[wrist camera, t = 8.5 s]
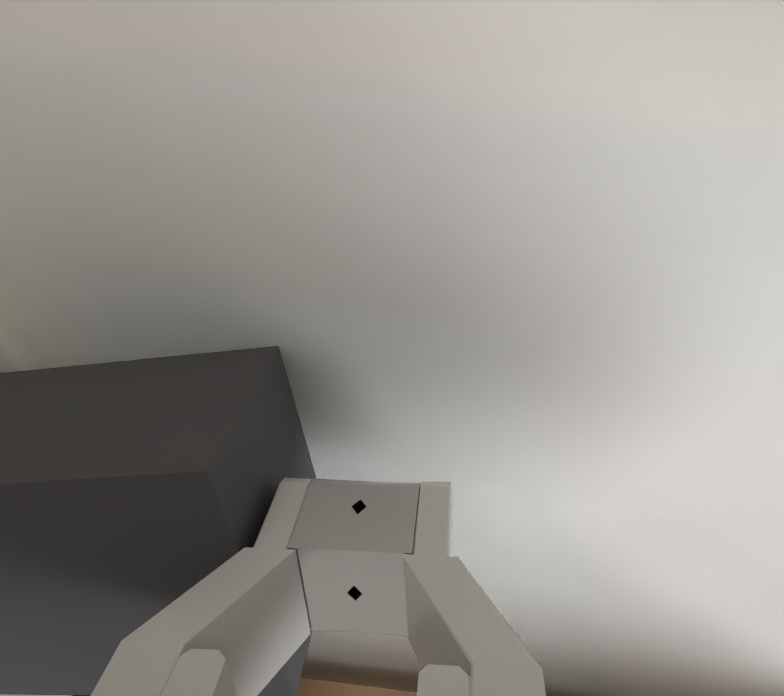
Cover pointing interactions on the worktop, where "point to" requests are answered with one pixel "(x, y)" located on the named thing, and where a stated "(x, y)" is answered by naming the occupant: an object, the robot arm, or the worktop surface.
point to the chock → (131, 501)
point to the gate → (344, 689)
